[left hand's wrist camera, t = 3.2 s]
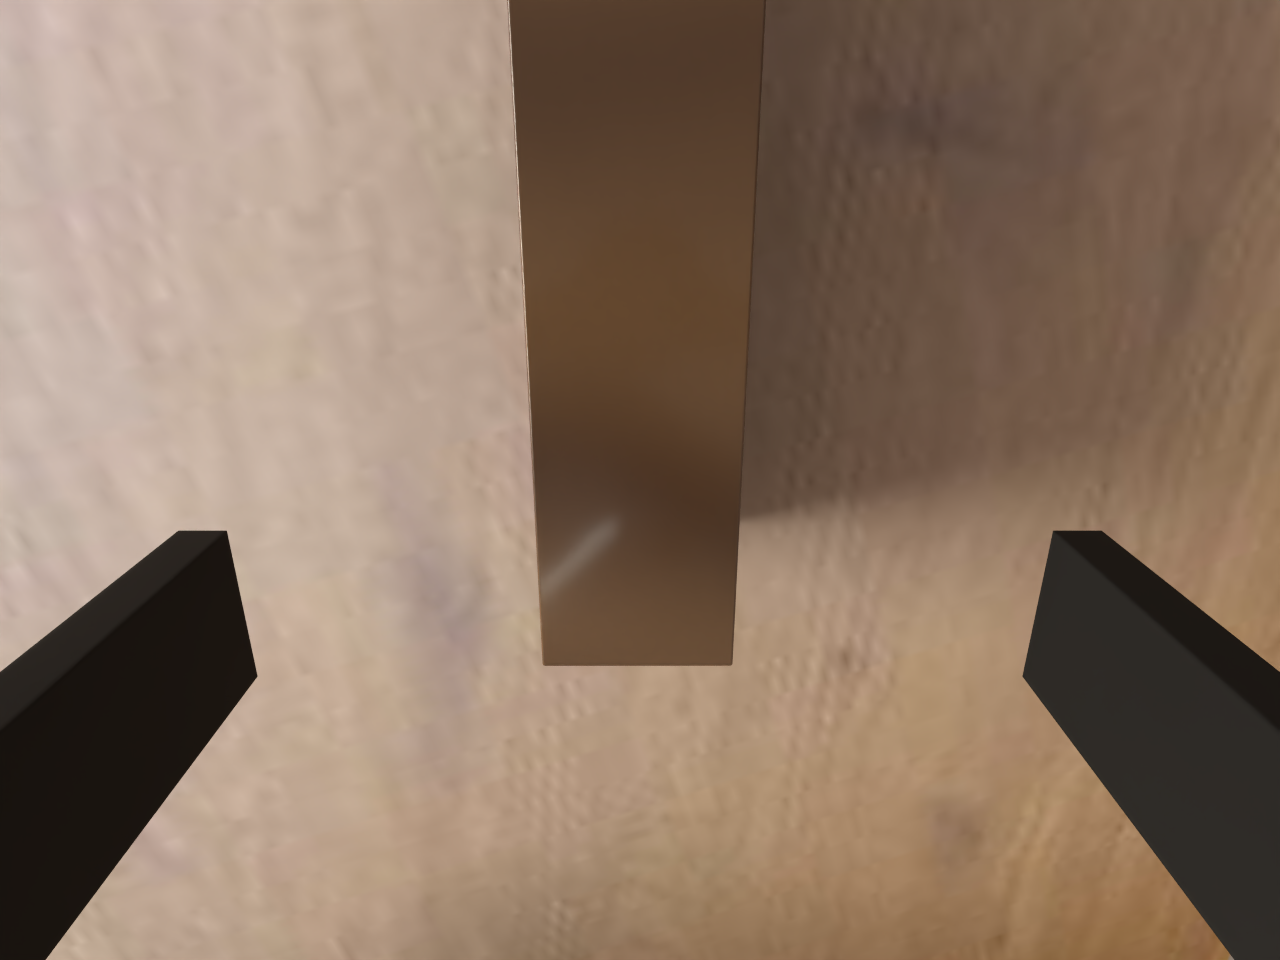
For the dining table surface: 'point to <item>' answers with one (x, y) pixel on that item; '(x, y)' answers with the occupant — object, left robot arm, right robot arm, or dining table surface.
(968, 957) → the dining table surface
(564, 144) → the bar
